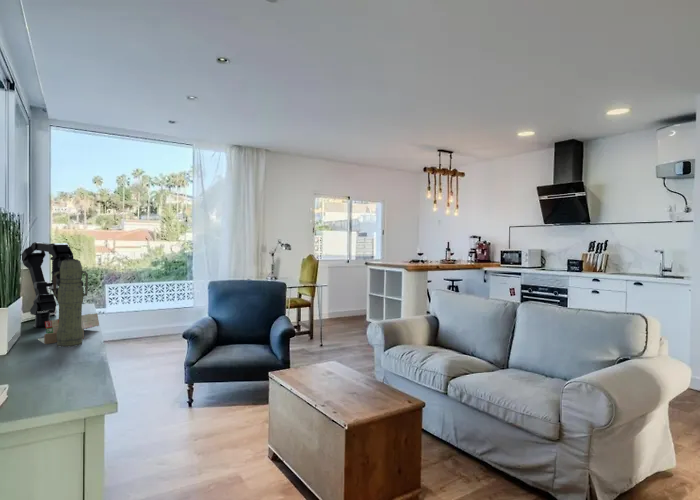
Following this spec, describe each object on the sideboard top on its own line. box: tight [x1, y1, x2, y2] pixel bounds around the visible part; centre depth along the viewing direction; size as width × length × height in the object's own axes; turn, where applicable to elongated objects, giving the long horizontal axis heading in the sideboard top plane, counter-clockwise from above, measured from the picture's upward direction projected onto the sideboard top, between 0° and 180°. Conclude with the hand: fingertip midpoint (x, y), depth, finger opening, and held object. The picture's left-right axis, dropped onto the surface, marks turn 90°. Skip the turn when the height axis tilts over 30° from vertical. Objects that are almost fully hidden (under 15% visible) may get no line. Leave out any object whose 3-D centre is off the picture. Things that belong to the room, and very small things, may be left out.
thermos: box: [52, 259, 89, 348], centre depth 169 cm, size 9×12×35 cm
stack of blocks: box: [45, 312, 100, 334], centre depth 187 cm, size 21×6×12 cm
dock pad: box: [37, 329, 85, 345], centre depth 178 cm, size 11×14×4 cm
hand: (58, 302), depth 196 cm, fingers closed
